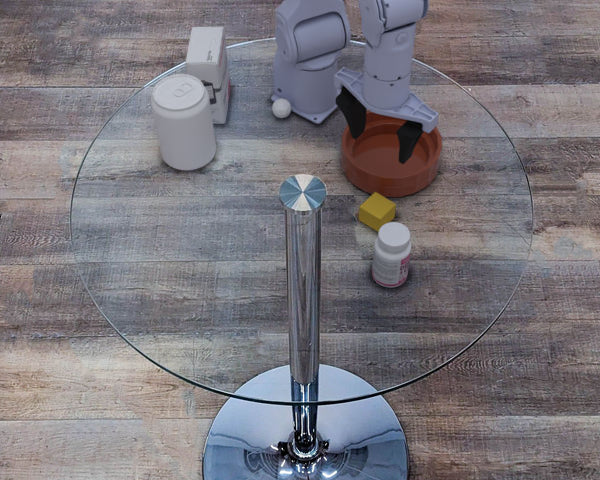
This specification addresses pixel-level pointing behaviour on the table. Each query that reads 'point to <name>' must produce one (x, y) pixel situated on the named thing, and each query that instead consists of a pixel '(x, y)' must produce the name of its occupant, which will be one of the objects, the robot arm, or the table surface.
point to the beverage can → (183, 122)
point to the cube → (377, 211)
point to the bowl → (389, 158)
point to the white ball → (281, 108)
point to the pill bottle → (391, 255)
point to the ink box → (210, 67)
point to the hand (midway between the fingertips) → (381, 146)
